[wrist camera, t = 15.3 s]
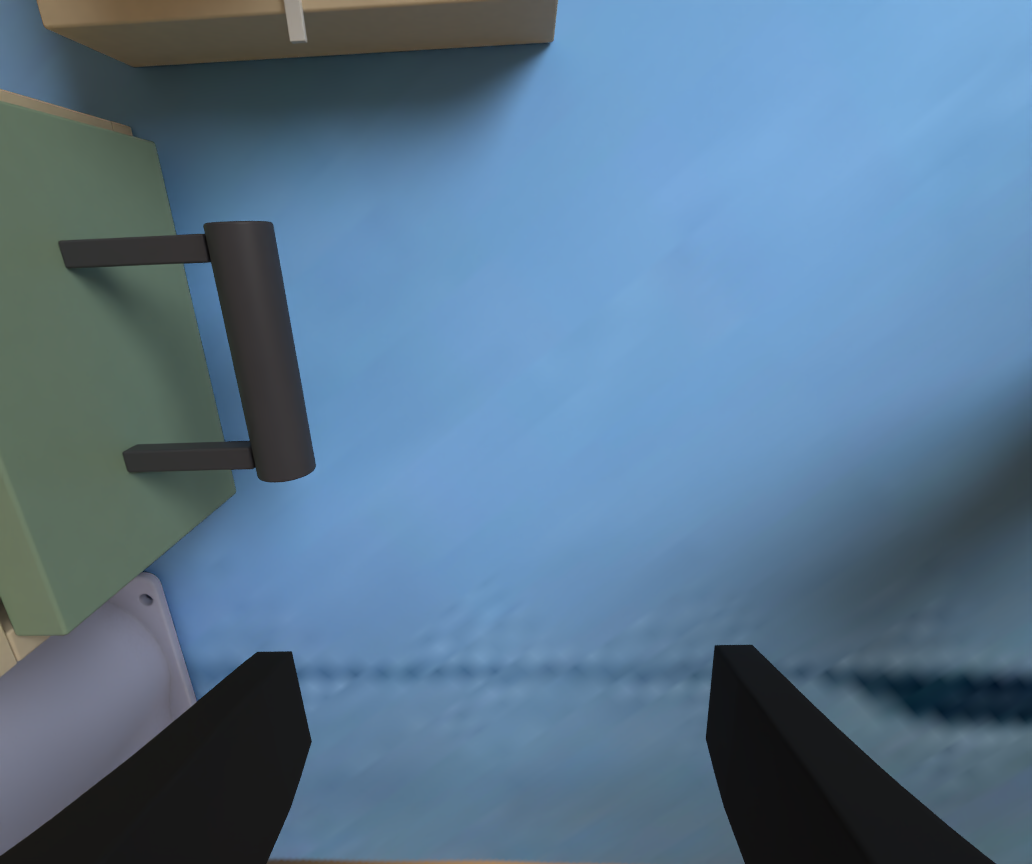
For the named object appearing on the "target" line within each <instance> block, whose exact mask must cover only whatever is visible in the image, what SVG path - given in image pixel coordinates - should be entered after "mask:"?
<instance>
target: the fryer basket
mask: <svg viewBox="0 0 1032 864" xmlns="http://www.w3.org/2000/svg"><path fill="white" fill-rule="evenodd" d="M203 227H204V231H205V234H187V235H176V231H175V227H174V222H173V218H172V214H171V209H170V205H169V201H168V197H167V192H166V188H165V184H164V179H163V175H162V171H161V167H160V162H159V158H158V154H157V149H156V145H155V143H154V142H152V141H148V140H145V139H141V138H137V137H134V136H130V135H126V134H122V133H119V132H115V131H111V130H108V129H104V128H100V127H96V126H93V125H89V124H85V123H82V122H78V121H74V120H71V119H67V118H63V117H59V116H56V115H52V114H48V113H45V112H41V111H37V110H33V109H30V108H26V107H22V106H19V105H15V104H11V103H8V102H4V101H0V598H1V601H2V603H3V606H4V608H5V610H6V613H7V615H8V617H9V620H10V622H11V624H12V627H13V629H14V632H15V634H16V635H18V636H59V635H66V634H69V633H70V632H71V631H72V630H74V629H75V628H76V627H77V626H78V625H79V624H81V623H82V622H83V621H84V620H85V619H87V618H88V617H89V616H90V615H91V614H93V613H94V612H95V611H96V610H97V609H98V608H100V607H101V606H102V605H103V604H104V603H106V602H107V601H108V600H109V599H110V598H112V597H113V596H114V595H115V594H116V593H117V592H119V591H120V590H121V589H122V588H123V587H125V586H126V585H127V584H128V583H129V582H131V581H132V580H133V579H134V578H135V577H137V576H138V575H139V574H140V573H141V572H142V571H144V570H145V569H146V568H147V567H148V566H150V565H151V564H152V563H153V562H154V561H156V560H157V559H158V558H159V557H160V556H161V555H163V554H164V553H165V552H166V551H167V550H169V549H170V548H171V547H172V546H173V545H175V544H176V543H177V542H178V541H179V540H181V539H182V538H183V537H184V536H185V535H186V534H188V533H189V532H190V531H191V530H192V529H194V528H195V527H196V526H197V525H198V524H200V523H201V522H202V521H203V520H204V519H205V518H207V517H208V516H209V515H210V514H211V513H213V512H214V511H215V510H216V509H217V508H219V507H220V506H221V505H222V504H223V503H225V502H226V501H227V500H228V499H229V498H230V497H232V496H233V495H234V494H235V493H236V488H235V484H234V479H233V475H232V471H231V470H235V469H253V468H255V467H256V471H257V476H258V478H259V479H260V480H262V481H265V482H285V481H291V480H295V479H298V478H301V477H304V476H306V475H308V474H310V473H311V472H312V471H314V469H315V467H316V464H315V458H314V452H313V447H312V441H311V435H310V430H309V424H308V419H307V413H306V407H305V402H304V396H303V390H302V385H301V379H300V373H299V368H298V362H297V356H296V351H295V345H294V340H293V334H292V328H291V323H290V317H289V311H288V306H287V300H286V294H285V289H284V283H283V277H282V272H281V266H280V260H279V255H278V249H277V244H276V238H275V232H274V227H273V224H272V223H271V222H267V221H229V222H211V223H205V224H204V226H203ZM207 262H211V264H212V268H213V273H214V277H215V282H216V287H217V291H218V296H219V301H220V305H221V310H222V314H223V319H224V324H225V328H226V333H227V337H228V342H229V347H230V351H231V356H232V360H233V365H234V370H235V374H236V379H237V383H238V388H239V393H240V397H241V402H242V407H243V411H244V416H245V420H246V425H247V430H248V434H249V439H250V441H227V442H225V441H224V437H223V432H222V428H221V424H220V419H219V415H218V411H217V407H216V402H215V398H214V394H213V389H212V385H211V381H210V377H209V372H208V368H207V364H206V359H205V355H204V351H203V347H202V342H201V338H200V334H199V329H198V325H197V321H196V317H195V312H194V308H193V304H192V299H191V295H190V291H189V287H188V282H187V278H186V274H185V269H184V265H183V264H185V263H207Z"/></svg>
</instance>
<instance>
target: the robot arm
mask: <svg viewBox="0 0 1032 864" xmlns="http://www.w3.org/2000/svg"><path fill="white" fill-rule="evenodd" d="M147 595H149V596H150V597H151V598H152V599H151V598H149V597H148V596H147ZM706 741H707V745H708V749H709V753H710V757H711V761H712V765H713V769H714V773H715V776H716V780H717V784H718V787H719V791H720V794H721V798H722V802H723V805H724V808H725V811H726V814H727V816H728V819H729V822H730V825H731V827H732V830H733V833H734V835H735V838H736V841H737V843H738V846H739V849H740V851H741V854H742V857H743V859H744V862H745V864H996V863H994V862H993V861H992V860H990V859H989V858H988V857H987V856H985V855H984V854H983V853H982V852H980V851H979V850H978V849H977V848H975V847H974V846H973V845H972V844H970V843H969V842H968V841H967V840H965V839H964V838H963V837H962V836H960V835H959V834H958V833H957V832H956V831H954V830H953V829H952V828H951V827H949V826H948V825H947V824H946V823H945V822H944V821H942V820H941V819H940V818H939V817H938V816H936V815H935V814H934V813H933V812H932V811H931V810H929V809H928V808H927V807H926V806H925V805H924V804H922V803H921V802H920V801H919V800H918V799H916V798H915V797H914V796H913V795H912V794H911V793H909V792H908V791H907V790H906V789H905V788H904V787H902V786H901V785H900V784H899V783H898V782H897V781H895V780H894V779H893V778H892V777H891V776H890V775H889V774H888V773H886V772H885V771H884V770H883V769H882V768H881V767H880V766H879V765H877V764H876V763H875V762H874V761H873V760H872V759H871V758H870V757H869V756H868V755H867V754H865V753H864V752H863V751H862V750H861V749H860V748H859V747H858V746H857V745H856V744H855V743H854V742H852V741H851V740H850V739H849V738H848V737H847V736H846V735H845V734H844V733H843V732H842V731H841V730H839V729H838V728H837V727H836V726H835V725H834V724H833V723H832V722H831V721H830V720H829V719H828V718H827V717H826V716H825V715H824V714H823V713H822V712H821V711H819V710H818V709H817V708H816V707H815V706H814V705H813V704H812V703H811V702H810V701H809V700H808V699H807V698H806V697H805V696H804V695H803V694H802V693H801V692H800V691H799V690H798V689H797V688H796V687H795V686H794V685H793V684H792V683H791V682H790V681H789V680H788V679H787V678H786V677H785V676H784V675H783V674H781V673H780V672H779V671H778V670H777V669H776V668H775V667H774V666H773V665H772V664H771V663H770V662H769V661H768V660H767V659H766V658H765V657H764V656H763V655H762V654H761V653H760V652H759V651H758V650H757V649H756V648H755V647H754V646H753V645H715V649H714V659H713V669H712V680H711V690H710V700H709V711H708V721H707V731H706ZM311 742H312V741H311V737H310V732H309V728H308V723H307V719H306V714H305V709H304V705H303V700H302V696H301V691H300V687H299V682H298V678H297V673H296V669H295V664H294V659H293V655H292V651H287V652H257V653H255V654H254V655H253V656H252V657H250V658H249V659H248V660H246V661H245V662H244V663H243V664H241V665H240V666H239V667H238V668H237V669H235V670H234V671H233V672H232V673H230V674H229V675H228V676H227V677H226V678H224V679H223V680H222V681H221V682H220V683H219V684H217V685H216V686H215V687H214V688H213V689H211V690H210V691H209V692H208V693H207V694H206V695H204V696H203V697H202V698H201V699H200V700H198V701H197V700H196V697H195V693H194V690H193V687H192V684H191V680H190V677H189V674H188V670H187V667H186V664H185V660H184V657H183V654H182V650H181V647H180V644H179V641H178V637H177V634H176V631H175V627H174V624H173V621H172V617H171V614H170V611H169V608H168V604H167V601H166V598H165V594H164V591H163V588H162V584H161V582H160V580H159V578H157V577H156V576H155V575H153V574H151V573H146V572H141V573H140V574H139V575H138V576H137V577H135V578H134V579H133V580H132V581H131V582H129V583H128V584H127V585H126V586H125V587H123V588H122V589H121V590H120V591H119V592H117V593H116V594H115V595H114V596H113V597H112V598H110V599H109V600H108V601H107V602H106V603H104V604H103V605H102V606H101V607H100V608H98V609H97V610H96V611H95V612H94V613H93V614H91V615H90V616H89V617H88V618H87V619H85V620H84V621H83V622H82V623H81V624H79V625H78V626H77V627H76V628H75V629H74V630H72V631H71V632H70V633H69V634H66V635H59V636H50V637H49V638H48V639H47V640H45V641H44V642H43V643H42V644H40V645H39V646H38V647H37V648H36V649H34V650H33V651H32V652H31V653H29V654H28V655H27V656H26V657H25V658H23V659H22V660H20V661H18V662H17V664H16V665H15V666H14V667H12V668H11V669H10V670H9V671H8V672H6V673H5V674H4V675H3V676H1V677H0V864H266V863H267V861H268V859H269V857H270V854H271V852H272V850H273V847H274V845H275V843H276V840H277V838H278V836H279V834H280V831H281V829H282V827H283V824H284V822H285V820H286V817H287V815H288V813H289V810H290V808H291V805H292V802H293V799H294V796H295V793H296V790H297V787H298V784H299V781H300V778H301V775H302V771H303V768H304V765H305V761H306V758H307V755H308V752H309V748H310V745H311Z"/></svg>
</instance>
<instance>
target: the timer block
mask: <svg viewBox="0 0 1032 864" xmlns="http://www.w3.org/2000/svg"><path fill="white" fill-rule="evenodd" d="M37 4H38V7H39V11H40V15H41V18H42V22H43V25H44V27H45V28H46V29H48V30H51V31H53V32H55V33H57V34H60V35H62V36H64V37H66V38H69V39H71V40H73V41H75V42H78V43H80V44H82V45H84V46H87V47H89V48H91V49H93V50H96V51H98V52H100V53H103V54H105V55H107V56H109V57H112V58H114V59H116V60H118V61H121V62H123V63H125V64H127V65H130V66H132V67H143V66H160V65H177V64H194V63H211V62H228V61H245V60H261V59H278V58H295V57H312V56H329V55H346V54H363V53H380V52H396V51H413V50H430V49H447V48H464V47H481V46H498V45H515V44H531V43H548V42H552V41H553V40H554V32H555V23H556V14H557V4H558V0H37Z"/></svg>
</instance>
